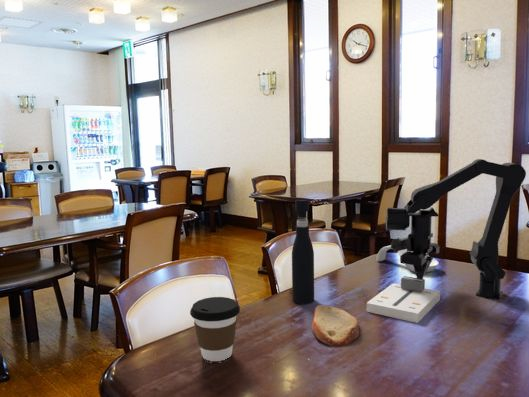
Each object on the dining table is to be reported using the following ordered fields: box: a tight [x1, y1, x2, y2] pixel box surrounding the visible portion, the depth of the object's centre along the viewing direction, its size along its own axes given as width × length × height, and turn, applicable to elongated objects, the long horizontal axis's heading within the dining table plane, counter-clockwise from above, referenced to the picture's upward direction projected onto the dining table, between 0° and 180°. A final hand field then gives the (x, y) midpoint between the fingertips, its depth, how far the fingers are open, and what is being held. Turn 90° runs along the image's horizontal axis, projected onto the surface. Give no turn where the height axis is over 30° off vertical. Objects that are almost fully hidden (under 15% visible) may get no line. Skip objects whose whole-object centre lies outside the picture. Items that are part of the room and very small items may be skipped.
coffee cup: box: [189, 296, 241, 361], centre depth 101 cm, size 11×11×12 cm
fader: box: [400, 275, 426, 292], centre depth 134 cm, size 3×6×3 cm, turn 54°
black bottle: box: [291, 198, 315, 305], centre depth 133 cm, size 6×6×30 cm
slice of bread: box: [311, 304, 360, 348], centre depth 115 cm, size 18×18×4 cm
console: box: [365, 282, 441, 324], centre depth 129 cm, size 20×14×3 cm
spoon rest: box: [375, 244, 440, 273], centre depth 166 cm, size 24×12×7 cm, turn 39°
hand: (419, 280), depth 139 cm, fingers closed
